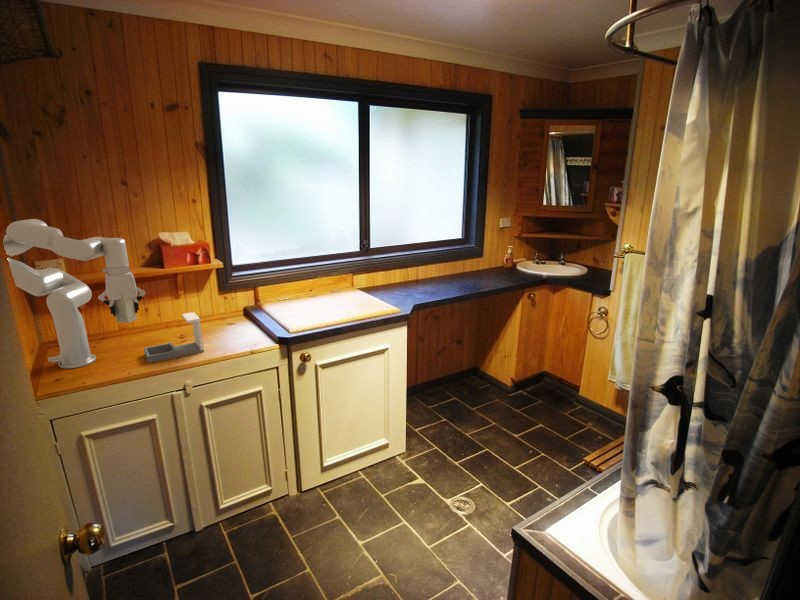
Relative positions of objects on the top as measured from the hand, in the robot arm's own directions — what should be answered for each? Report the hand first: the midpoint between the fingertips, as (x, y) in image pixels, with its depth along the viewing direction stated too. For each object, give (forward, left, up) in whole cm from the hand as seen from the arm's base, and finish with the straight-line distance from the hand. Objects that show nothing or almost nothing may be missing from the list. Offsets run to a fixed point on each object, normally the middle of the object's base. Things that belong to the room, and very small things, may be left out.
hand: (125, 313), depth 181 cm
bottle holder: (+15, 0, -21) cm, 26 cm away
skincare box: (0, 0, -3) cm, 3 cm away
